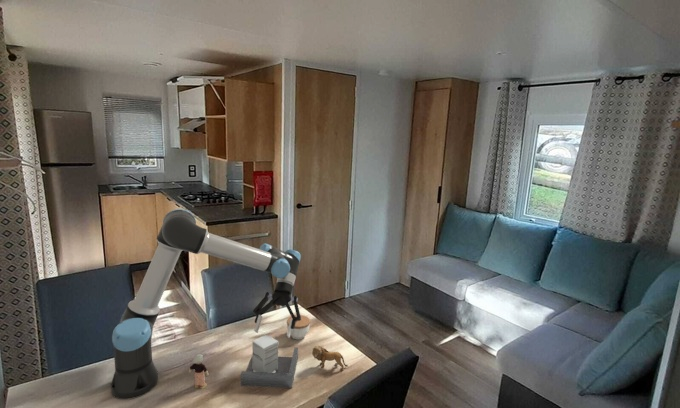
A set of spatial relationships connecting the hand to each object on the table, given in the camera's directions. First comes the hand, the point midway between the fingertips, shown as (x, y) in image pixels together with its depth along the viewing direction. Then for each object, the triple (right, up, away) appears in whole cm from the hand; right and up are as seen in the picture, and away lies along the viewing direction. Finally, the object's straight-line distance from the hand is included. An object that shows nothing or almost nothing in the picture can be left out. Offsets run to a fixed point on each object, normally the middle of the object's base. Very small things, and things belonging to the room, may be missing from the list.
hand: (271, 334), depth 144 cm
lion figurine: (+23, -14, +2) cm, 27 cm away
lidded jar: (+8, -9, +23) cm, 27 cm away
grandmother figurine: (-24, -15, -12) cm, 31 cm away
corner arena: (0, -14, -2) cm, 14 cm away
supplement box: (-2, -13, -2) cm, 14 cm away
